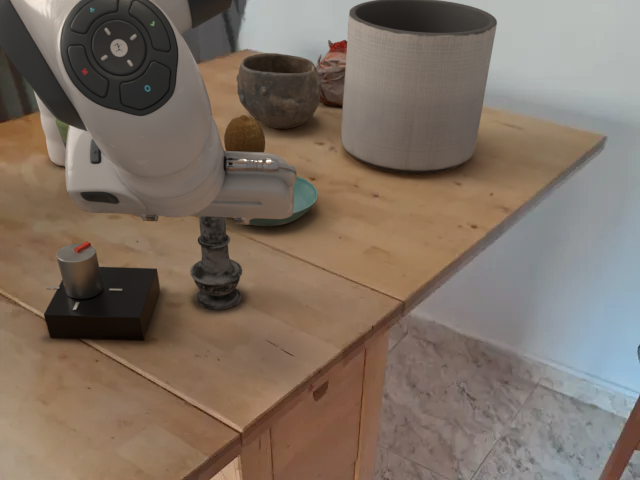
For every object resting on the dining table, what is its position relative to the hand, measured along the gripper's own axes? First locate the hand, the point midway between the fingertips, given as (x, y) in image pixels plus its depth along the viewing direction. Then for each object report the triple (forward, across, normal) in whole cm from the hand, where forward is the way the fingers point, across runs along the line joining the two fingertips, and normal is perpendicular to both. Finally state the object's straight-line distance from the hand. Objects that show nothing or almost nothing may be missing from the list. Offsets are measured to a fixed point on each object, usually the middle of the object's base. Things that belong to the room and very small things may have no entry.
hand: (197, 215), depth 71 cm
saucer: (+26, -5, -10) cm, 28 cm away
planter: (+42, -27, -26) cm, 57 cm away
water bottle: (+37, +26, -20) cm, 49 cm away
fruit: (+36, -1, -20) cm, 41 cm away
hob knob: (+5, +13, +7) cm, 15 cm away
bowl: (+50, -5, -34) cm, 61 cm away
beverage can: (+30, +20, -13) cm, 38 cm away
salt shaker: (+10, -1, +6) cm, 12 cm away
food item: (+61, -16, -44) cm, 77 cm away
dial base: (+7, +11, +9) cm, 16 cm away
